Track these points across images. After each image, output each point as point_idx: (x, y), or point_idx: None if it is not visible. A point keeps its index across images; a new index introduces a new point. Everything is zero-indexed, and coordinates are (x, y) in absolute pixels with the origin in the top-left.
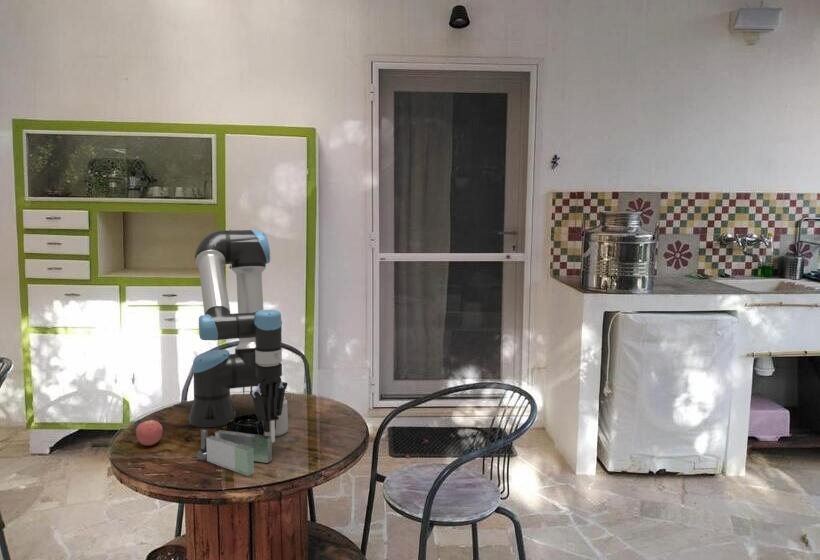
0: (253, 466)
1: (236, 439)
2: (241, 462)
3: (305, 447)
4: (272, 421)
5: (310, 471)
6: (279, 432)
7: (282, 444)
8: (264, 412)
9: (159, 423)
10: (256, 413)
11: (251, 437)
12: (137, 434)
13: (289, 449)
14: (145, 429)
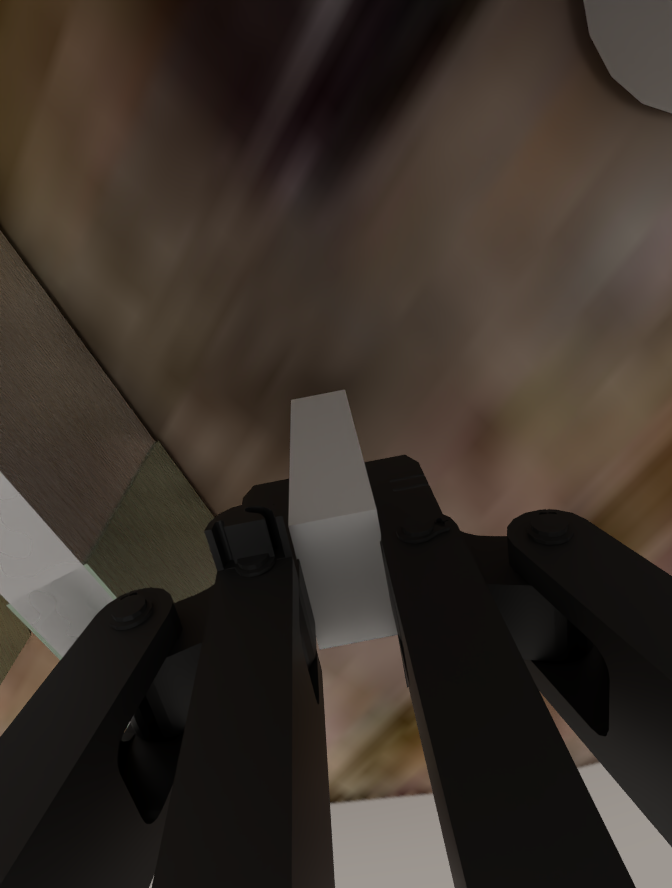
0: (5, 673)
1: None
2: None
3: (584, 501)
4: (349, 640)
5: (336, 785)
6: (667, 106)
7: (512, 319)
8: (146, 870)
9: None
10: (20, 727)
11: (8, 594)
12: None
13: (475, 453)
14: None
